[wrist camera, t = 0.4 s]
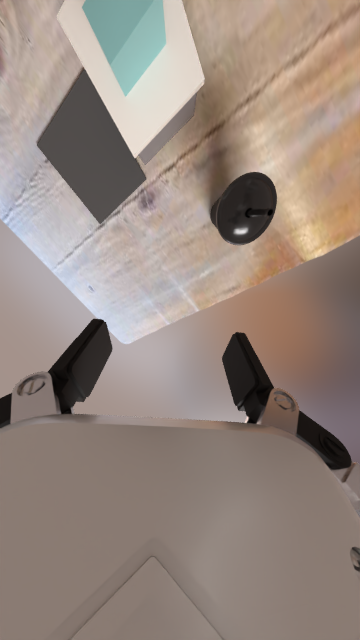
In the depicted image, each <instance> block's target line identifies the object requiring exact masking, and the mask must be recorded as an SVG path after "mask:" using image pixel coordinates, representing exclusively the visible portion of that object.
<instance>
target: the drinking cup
mask: <svg viewBox="0 0 360 640" xmlns="http://www.w3.org/2000/svg"><path fill="white" fill-rule="evenodd" d="M276 204H277V194H276V189H275V186H274V184H273V182H272V181H271V179H270V178H269V177H268V176H266V175H265V174H262V173H259V172H250V173H246V174H244V175H242V176H240V177H238V178H237V179H236V180H234V181H233V182H232V183H231V184H230V185H229V186H228V187H227V189H226V190H225V192H224V193H223V195H222V197H221V198H220V199H219V200H218V201H217V202H216V203H215V204H214V205H213V207H212V210H211V221H212V223H213V224H214V225H215V227H216V228H217V229H218V231H219V233H220V235H221V237H222V238H223V239H224V240H225V241H227V242H228V243H230V244H233V245H244V244H248V243H250V242H252V241H254V240H255V239H257V238H258V237H259V236H260V235H261V234H262V233H263V232H264V231H265V230H266V229H267V227H268V226H269V224H270V222H271V220H272V218H273V216H274V213H275V209H276Z"/></svg>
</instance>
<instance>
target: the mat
mask: <svg viewBox="0 0 360 640" xmlns="http://www.w3.org/2000/svg"><path fill="white" fill-rule="evenodd" d="M37 146H38V147H39V149H40V150H41V151H42V152H43V154H44V155H45V156H46V157H47V159H48V160H49V161H50V162H51V164H52V165H53V166H54V167H55V169H56V170H57V171H58V172H59V174H60V175H61V176H62V177H63V178H64V180H65V181H66V182H67V183H68V185H69V186H70V187H71V188H72V190H73V191H74V192H75V193H76V195H77V196H78V197H79V198H80V200H81V201H82V202H83V203H84V205H85V206H86V207H87V208H88V210H89V211H90V212H91V213H92V215H93V216H94V217H95V218H96V220H97V221H98V222H99V223H100V224H101V223H102V222H103V221H104V220H105V219H106V218H107V217H108V216H109V215H110V214H111V213H112V212H113V211H114V210H115V209H116V208H117V207H118V206H119V205H120V204H121V203H122V202H123V201H124V200H125V199H126V198H127V197H128V196H130V195H131V194H132V193H133V192H134V191H135V190H136V189H137V188H138V187H139V186H140V185H141V184H142V183H143V182H144V181H145V180H146V177H145V176H144V174H143V172H142V170H141V168H140V166H139V165H138V163H137V161H136V159H135V158H134V156H133V155H132V153H131V151H130V149H129V147H128V146H127V144H126V142H125V140H124V138H123V137H122V135H121V133H120V131H119V129H118V128H117V126H116V124H115V122H114V120H113V119H112V117H111V115H110V113H109V111H108V110H107V108H106V106H105V104H104V102H103V101H102V99H101V97H100V95H99V93H98V92H97V90H96V88H95V86H94V84H93V83H92V81H91V79H90V77H89V75H88V74H87V72H86V70H85V69H84V70H83V72H82V73H81V75H80V77H79V78H78V80H77V81H76V83H75V85H74V86H73V88H72V90H71V91H70V93H69V94H68V96H67V98H66V99H65V101H64V102H63V104H62V106H61V107H60V109H59V110H58V112H57V114H56V115H55V117H54V118H53V120H52V122H51V123H50V125H49V126H48V128H47V130H46V131H45V133H44V134H43V136H42V138H41V139H40V141H39V142H38V144H37Z"/></svg>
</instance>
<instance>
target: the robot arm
mask: <svg viewBox="0 0 360 640" xmlns="http://www.w3.org/2000/svg"><path fill="white" fill-rule="evenodd" d="M111 352H112V344H111V340H110V336H109V332H108V328H107V324H106V322H104V321H103V320H102V319H93V320H92V321H91V322H90V323H89V324H88V325H87V327H86V328H85V329H84V330H83V331H82V333H81V334H80V335H79V336H78V337H77V338H76V339H75V340H74V341H73V343H72V344H71V345H70V346H69V347H68V348H67V350H66V351H65V352H64V353H63V354H62V355H61V357H60V358H59V359H58V360H57V362H56V363H55V364H54V365H53V366H52V368H51V369H50V370H49V371H48V372H37V373H33V374H31V375H29V376H27V377H25V378H24V379H22V380H21V381H20V382H19V383H18V384H16V386H15V388H14V389H13V392H12V393H11V394H9V395H6V396H4V397H2V398H0V640H360V465H359V464H358V463H357V462H355V463H353V462H352V461H351V457H350V455H349V453H348V451H347V449H346V448H345V446H344V445H343V444H342V443H341V442H340V441H339V440H338V439H337V438H336V437H335V436H334V435H332V434H331V433H330V432H328V431H327V430H326V429H324V428H323V427H321V426H320V425H319V424H317V423H316V422H315V421H313V420H312V419H310V418H309V417H308V416H306V415H305V414H304V413H302V412H301V411H299V406H298V404H297V402H296V400H295V399H294V398H293V397H292V396H291V395H290V394H289V393H288V392H286V391H285V390H283V389H280V388H274V387H273V385H272V383H271V381H270V379H269V377H268V375H267V374H266V372H265V370H264V368H263V366H262V364H261V363H260V360H259V359H258V357H257V355H256V353H255V351H254V350H253V348H252V346H251V344H250V342H249V340H248V338H247V336H246V335H245V333H238V332H236V333H235V334H233V335H232V337H231V340H230V342H229V344H228V346H227V348H226V350H225V353H224V355H223V357H222V361H223V365H224V368H225V372H226V376H227V379H228V383H229V386H230V390H231V393H232V397H233V400H234V404H235V405H236V406H237V407H238V410H239V411H246V415H247V418H246V421H245V423H239V422H225V421H207V420H191V419H172V418H152V417H133V416H112V415H86V414H85V415H84V414H74V410H73V406H74V404H75V402H76V401H77V402H84V401H85V399H86V397H88V396H89V395H90V394H91V392H92V390H93V388H94V386H95V384H96V382H97V380H98V378H99V376H100V374H101V372H102V370H103V368H104V366H105V364H106V362H107V359H108V358H109V356H110V354H111Z"/></svg>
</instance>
